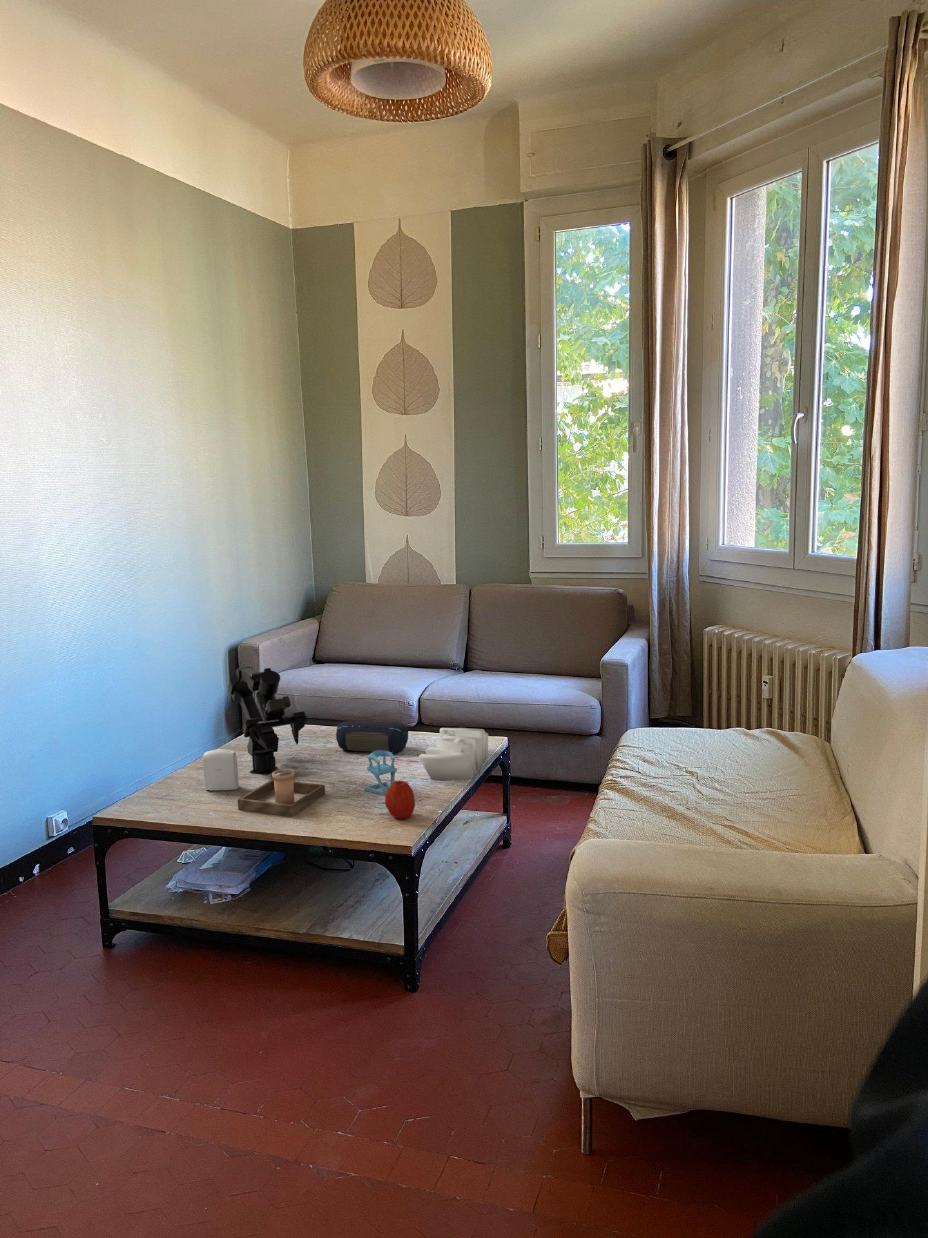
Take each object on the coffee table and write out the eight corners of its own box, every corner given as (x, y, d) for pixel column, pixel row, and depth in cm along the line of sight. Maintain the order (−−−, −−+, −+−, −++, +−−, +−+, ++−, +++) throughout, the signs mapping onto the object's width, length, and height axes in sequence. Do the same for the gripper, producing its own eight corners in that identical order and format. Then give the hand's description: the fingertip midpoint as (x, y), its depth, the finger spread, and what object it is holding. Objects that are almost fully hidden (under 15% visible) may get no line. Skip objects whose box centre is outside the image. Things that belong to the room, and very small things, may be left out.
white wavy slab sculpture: (465, 788, 267) (464, 754, 265) (413, 783, 272) (412, 750, 270) (497, 752, 300) (496, 722, 298) (450, 749, 305) (450, 719, 303)
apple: (380, 820, 244) (379, 782, 242) (394, 809, 251) (393, 773, 249) (407, 824, 240) (405, 786, 239) (421, 813, 248) (419, 776, 246)
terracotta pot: (270, 808, 255) (267, 775, 253) (281, 801, 260) (279, 768, 259) (288, 811, 252) (286, 777, 251) (300, 803, 258) (298, 770, 256)
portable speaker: (332, 753, 304) (330, 725, 302) (342, 744, 313) (341, 717, 312) (403, 757, 298) (401, 728, 296) (411, 748, 308) (410, 720, 306)
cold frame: (238, 809, 255) (237, 799, 254) (273, 788, 271) (272, 778, 271) (292, 816, 248) (292, 806, 248) (325, 794, 265) (324, 784, 264)
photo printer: (203, 791, 270) (200, 752, 268) (207, 786, 274) (204, 748, 272) (237, 791, 270) (234, 751, 268) (240, 786, 274) (238, 747, 272)
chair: (378, 797, 261) (377, 758, 259) (364, 790, 268) (362, 751, 266) (401, 791, 265) (399, 753, 263) (386, 784, 272) (385, 746, 270)
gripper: (241, 693, 265) (255, 735, 256) (302, 684, 273) (317, 725, 264) (237, 716, 272) (250, 757, 263) (296, 707, 281) (310, 747, 272)
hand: (282, 746), depth 265 cm, fingers open, 9 cm apart
